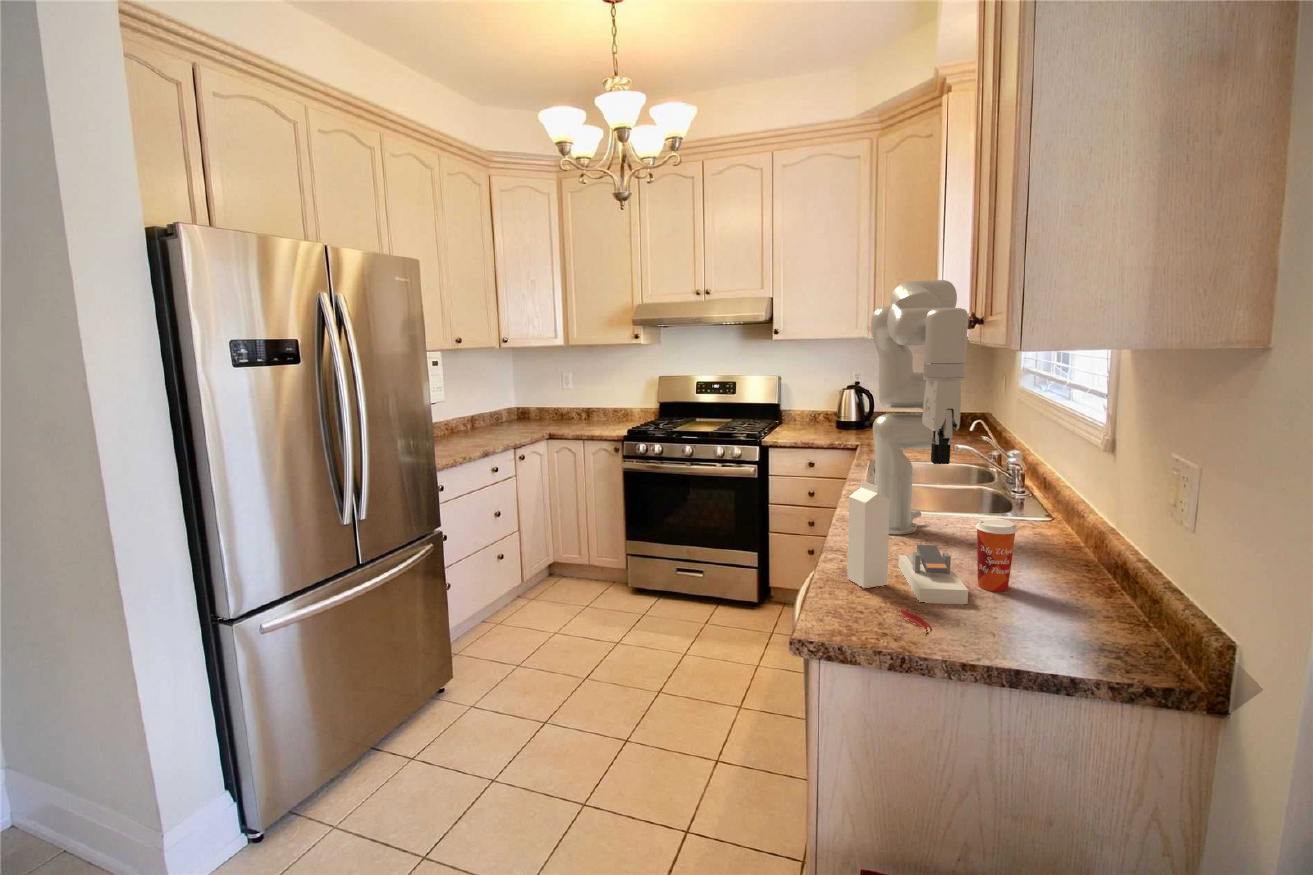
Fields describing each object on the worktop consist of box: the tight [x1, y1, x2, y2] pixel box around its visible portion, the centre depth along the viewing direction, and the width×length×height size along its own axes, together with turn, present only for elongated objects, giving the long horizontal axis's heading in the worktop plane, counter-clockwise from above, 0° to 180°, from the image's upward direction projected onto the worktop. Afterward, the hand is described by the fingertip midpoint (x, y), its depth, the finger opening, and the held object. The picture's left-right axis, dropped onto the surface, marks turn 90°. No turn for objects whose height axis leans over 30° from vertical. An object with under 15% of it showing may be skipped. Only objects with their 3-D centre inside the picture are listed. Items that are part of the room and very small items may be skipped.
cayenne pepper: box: [899, 608, 932, 632], centre depth 122 cm, size 12×5×2 cm, turn 173°
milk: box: [846, 480, 890, 587], centre depth 139 cm, size 6×6×22 cm
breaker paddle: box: [916, 544, 947, 573], centre depth 138 cm, size 9×4×1 cm, turn 171°
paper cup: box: [974, 517, 1018, 593], centre depth 136 cm, size 8×8×14 cm
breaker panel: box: [897, 551, 969, 605], centre depth 139 cm, size 20×9×7 cm, turn 171°
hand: (940, 463), depth 132 cm, fingers closed
